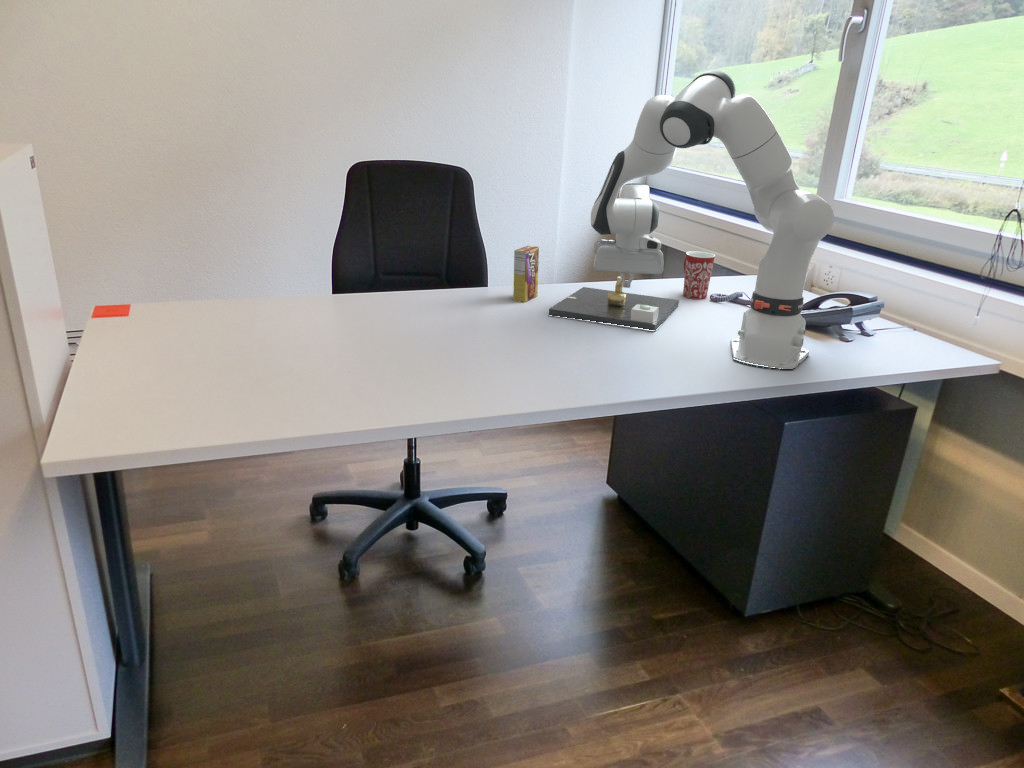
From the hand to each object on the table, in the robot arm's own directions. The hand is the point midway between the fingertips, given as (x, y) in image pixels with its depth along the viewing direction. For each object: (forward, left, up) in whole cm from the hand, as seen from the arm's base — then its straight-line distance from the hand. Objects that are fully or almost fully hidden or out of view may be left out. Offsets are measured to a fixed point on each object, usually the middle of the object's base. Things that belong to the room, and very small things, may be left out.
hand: (626, 287), depth 220 cm
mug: (+23, -16, -5) cm, 29 cm away
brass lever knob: (-4, +1, -3) cm, 5 cm away
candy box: (-10, +28, -5) cm, 30 cm away
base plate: (-9, 0, -5) cm, 10 cm away
